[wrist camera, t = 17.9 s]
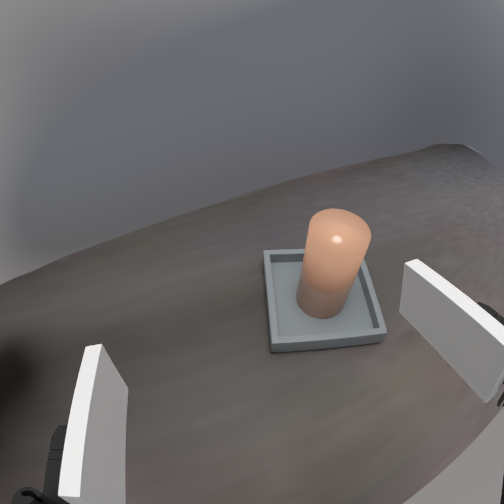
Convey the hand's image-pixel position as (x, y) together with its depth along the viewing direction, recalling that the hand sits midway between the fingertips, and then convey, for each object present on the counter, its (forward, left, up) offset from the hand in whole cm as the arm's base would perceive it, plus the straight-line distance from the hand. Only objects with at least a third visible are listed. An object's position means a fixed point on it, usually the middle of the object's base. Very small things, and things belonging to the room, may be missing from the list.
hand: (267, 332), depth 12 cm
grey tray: (+9, +16, -23) cm, 29 cm away
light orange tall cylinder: (+9, +16, -22) cm, 29 cm away
